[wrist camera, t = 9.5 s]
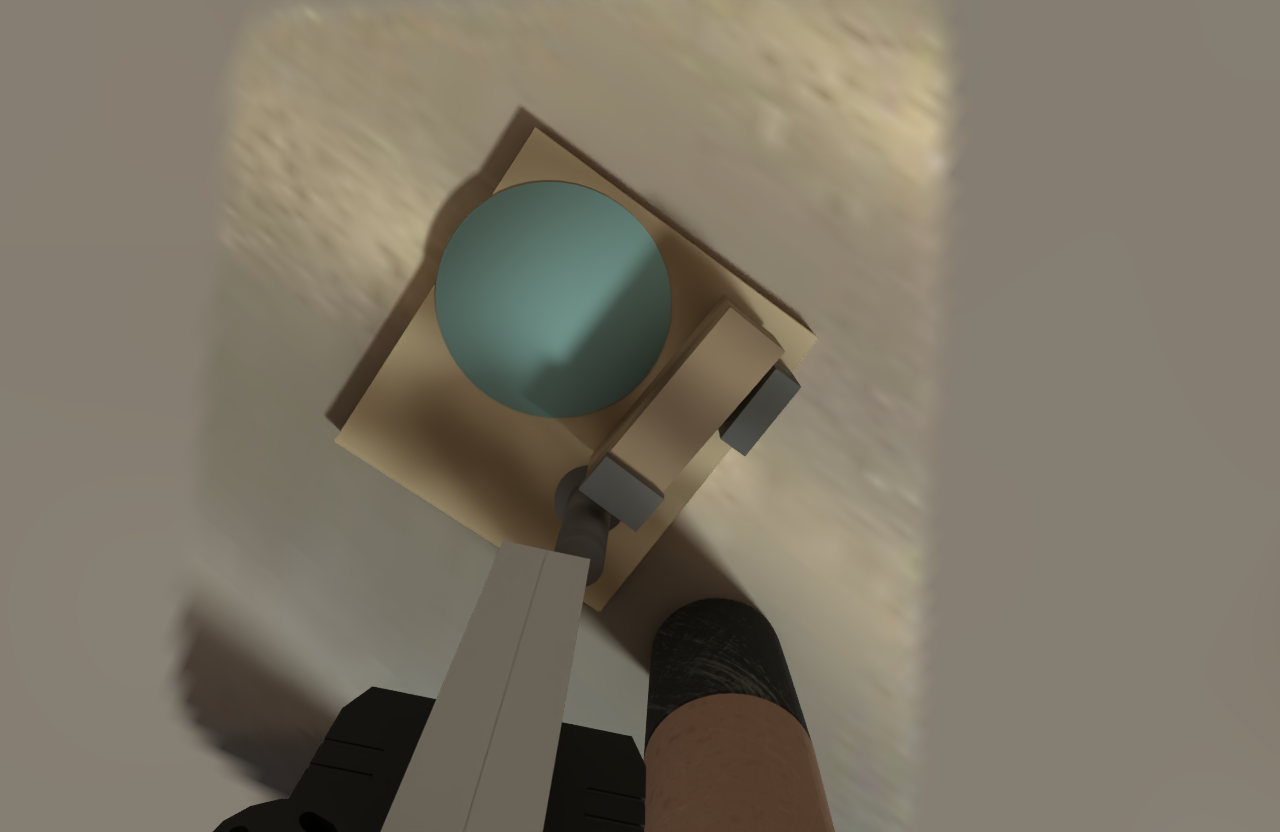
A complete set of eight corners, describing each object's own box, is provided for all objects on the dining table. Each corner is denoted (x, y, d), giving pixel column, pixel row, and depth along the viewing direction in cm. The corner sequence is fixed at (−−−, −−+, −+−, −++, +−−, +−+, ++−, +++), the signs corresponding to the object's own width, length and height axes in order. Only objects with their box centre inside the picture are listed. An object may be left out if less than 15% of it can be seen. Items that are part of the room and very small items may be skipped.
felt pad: (583, 459, 40) (583, 460, 40) (392, 329, 38) (391, 330, 38) (718, 277, 37) (719, 278, 37) (520, 130, 35) (519, 129, 35)
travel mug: (621, 676, 45) (593, 1054, 25) (691, 569, 43) (717, 892, 23) (739, 735, 46) (797, 1142, 26) (813, 632, 44) (934, 993, 24)
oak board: (600, 600, 43) (588, 695, 35) (343, 433, 41) (268, 495, 33) (814, 333, 39) (853, 374, 31) (539, 128, 36) (506, 116, 29)
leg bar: (638, 496, 40) (635, 532, 36) (586, 457, 39) (578, 489, 35) (775, 336, 37) (789, 356, 33) (722, 293, 37) (729, 307, 33)
